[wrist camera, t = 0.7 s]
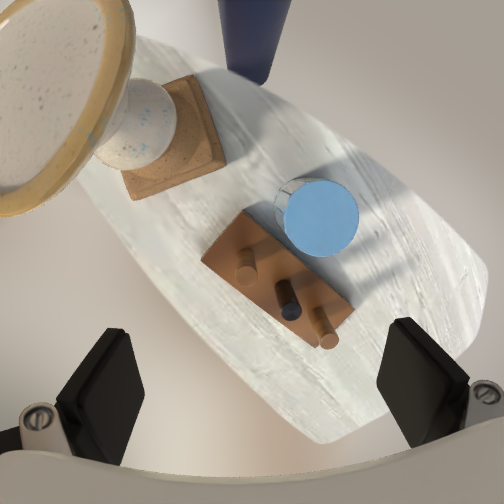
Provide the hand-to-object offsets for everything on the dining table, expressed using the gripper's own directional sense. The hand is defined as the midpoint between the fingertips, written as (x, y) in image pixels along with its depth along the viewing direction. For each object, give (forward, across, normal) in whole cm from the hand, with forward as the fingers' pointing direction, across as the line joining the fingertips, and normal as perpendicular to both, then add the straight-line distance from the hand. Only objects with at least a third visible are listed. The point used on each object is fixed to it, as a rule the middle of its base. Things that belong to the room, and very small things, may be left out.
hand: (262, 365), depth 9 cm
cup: (+24, -6, -2) cm, 24 cm away
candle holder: (+24, +9, -11) cm, 27 cm away
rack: (+24, -4, +6) cm, 25 cm away
